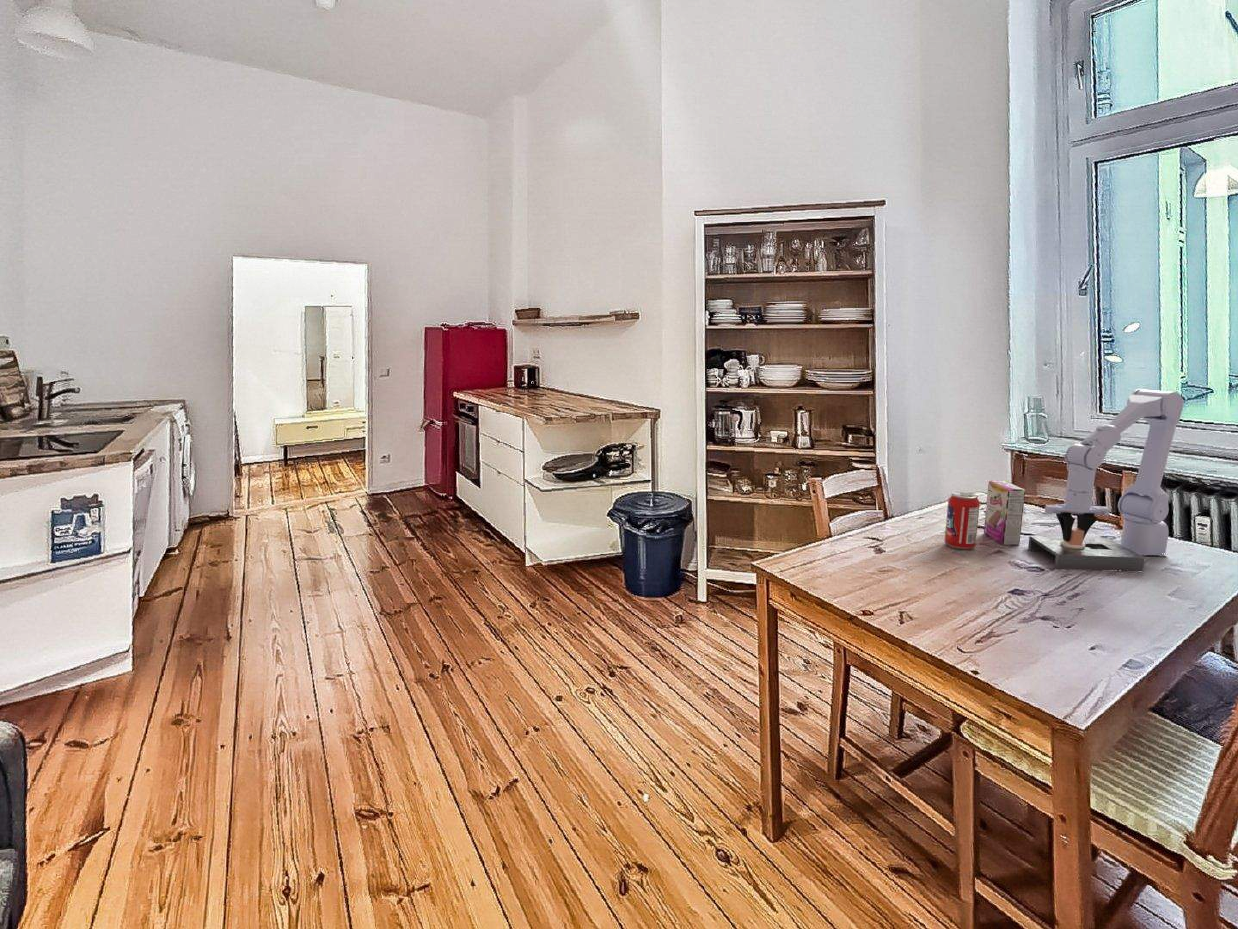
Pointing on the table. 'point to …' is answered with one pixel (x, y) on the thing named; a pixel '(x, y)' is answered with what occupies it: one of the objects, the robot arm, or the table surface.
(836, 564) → the table surface
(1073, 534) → the peg
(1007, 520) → the candy bar box
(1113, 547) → the keyhole bracket
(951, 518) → the soda can
